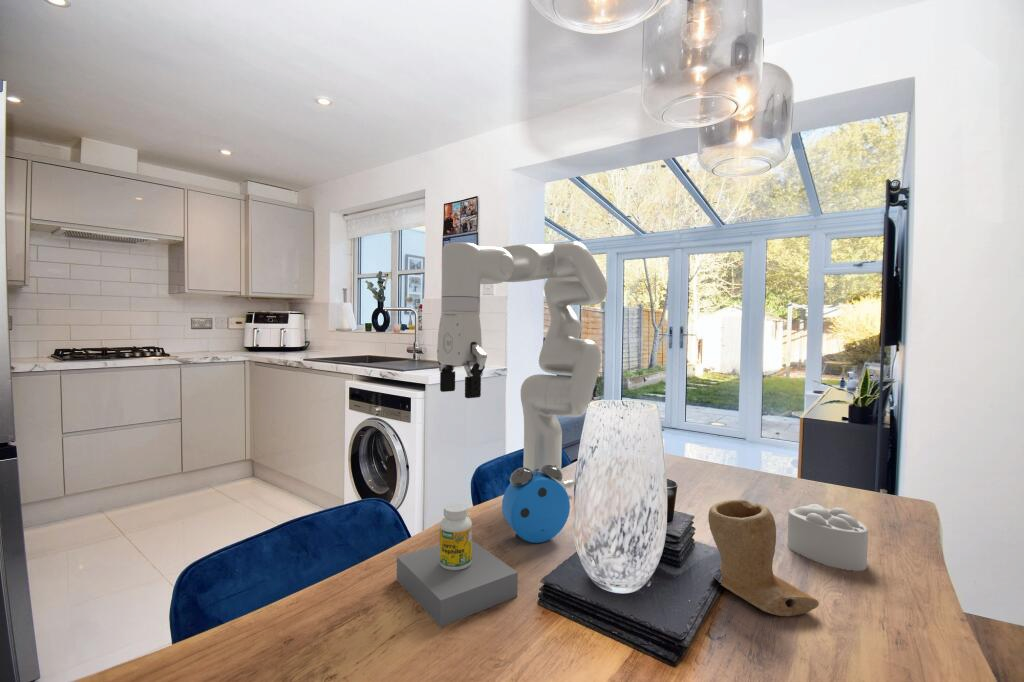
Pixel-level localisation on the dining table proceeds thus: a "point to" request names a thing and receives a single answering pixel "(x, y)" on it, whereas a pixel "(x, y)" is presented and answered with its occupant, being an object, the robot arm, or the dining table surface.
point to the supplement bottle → (455, 537)
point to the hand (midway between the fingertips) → (459, 394)
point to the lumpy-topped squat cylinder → (828, 537)
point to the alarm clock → (536, 503)
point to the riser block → (456, 583)
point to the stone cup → (753, 558)
